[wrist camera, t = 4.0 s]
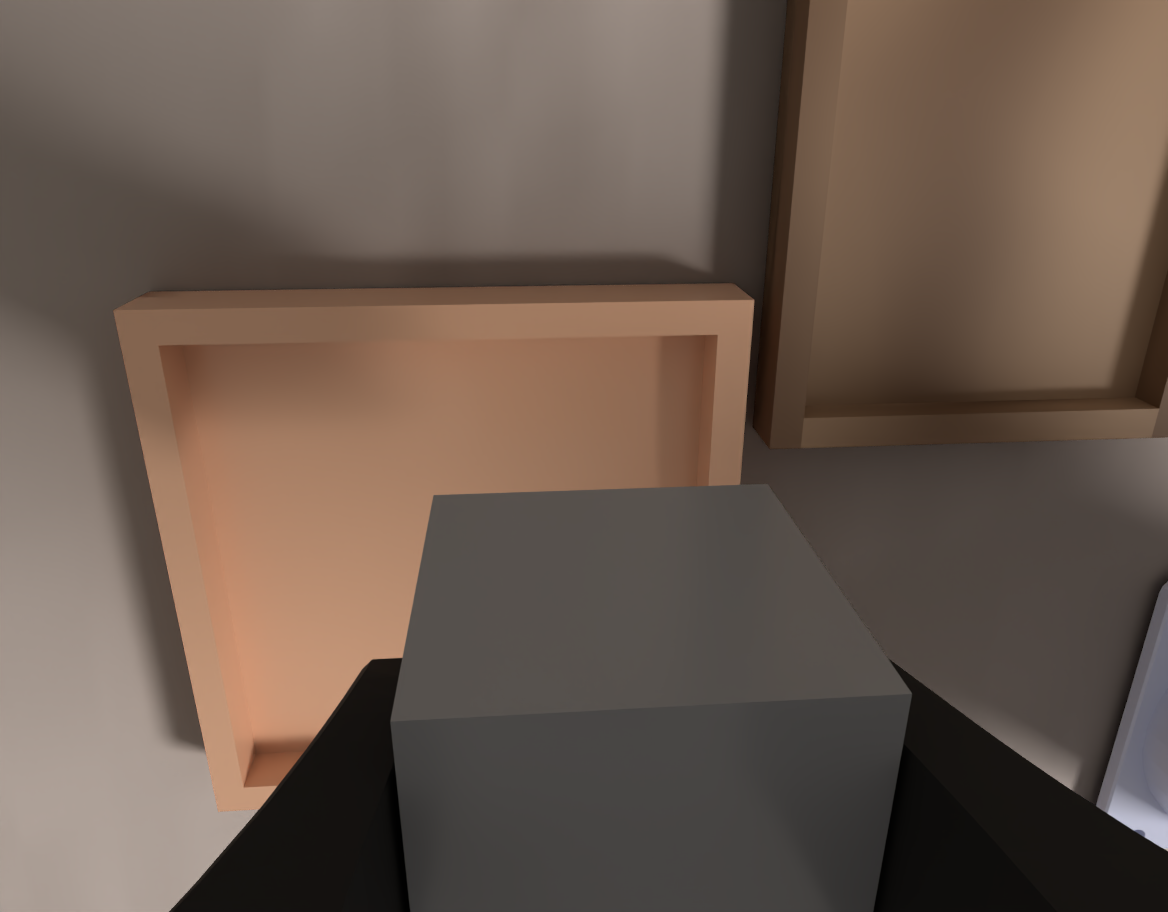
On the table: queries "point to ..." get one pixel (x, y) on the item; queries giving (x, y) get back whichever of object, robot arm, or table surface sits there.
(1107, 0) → the walnut tray
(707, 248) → the table surface
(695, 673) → the slate gray cube
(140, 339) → the terracotta dish
